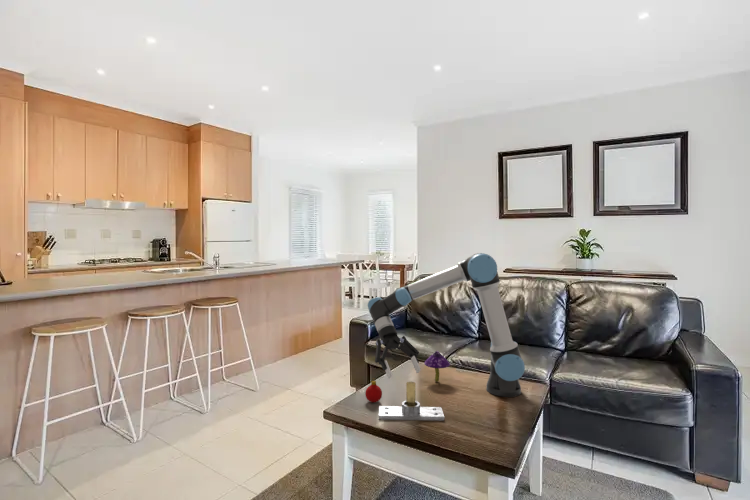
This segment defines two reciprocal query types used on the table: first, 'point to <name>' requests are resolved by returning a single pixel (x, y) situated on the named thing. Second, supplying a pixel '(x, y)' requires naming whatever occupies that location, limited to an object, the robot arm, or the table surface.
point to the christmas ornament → (373, 392)
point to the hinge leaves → (410, 412)
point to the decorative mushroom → (437, 363)
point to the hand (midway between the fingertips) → (404, 374)
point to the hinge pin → (410, 394)
